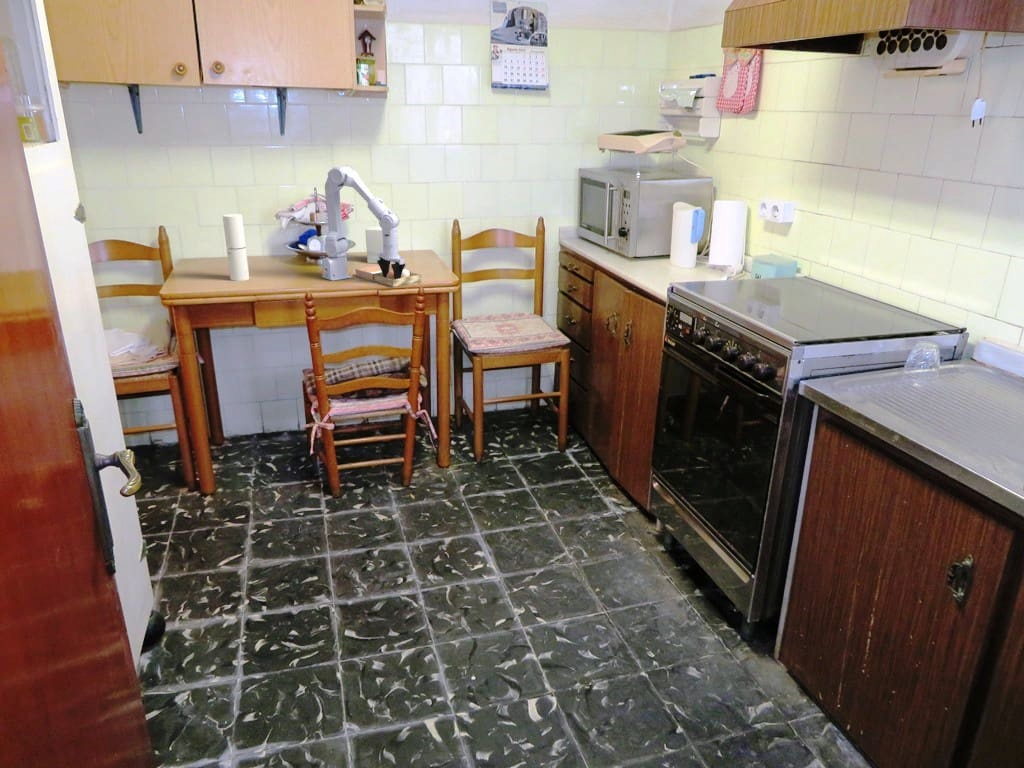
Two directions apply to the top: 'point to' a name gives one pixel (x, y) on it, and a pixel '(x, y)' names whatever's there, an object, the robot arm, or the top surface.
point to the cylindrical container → (236, 247)
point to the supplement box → (374, 243)
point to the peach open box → (370, 272)
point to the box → (397, 280)
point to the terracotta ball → (390, 275)
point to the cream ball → (405, 273)
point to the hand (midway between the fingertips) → (391, 279)
